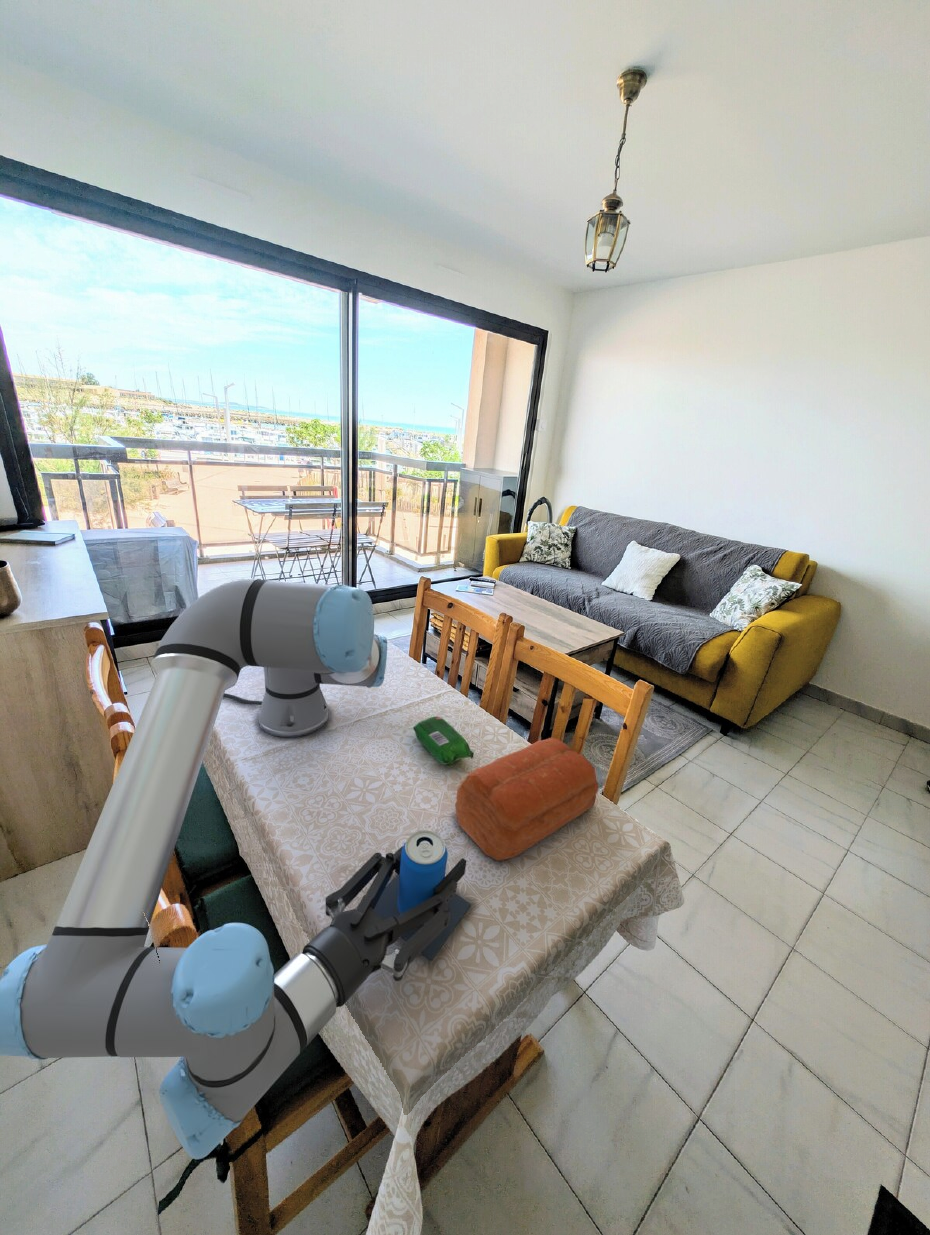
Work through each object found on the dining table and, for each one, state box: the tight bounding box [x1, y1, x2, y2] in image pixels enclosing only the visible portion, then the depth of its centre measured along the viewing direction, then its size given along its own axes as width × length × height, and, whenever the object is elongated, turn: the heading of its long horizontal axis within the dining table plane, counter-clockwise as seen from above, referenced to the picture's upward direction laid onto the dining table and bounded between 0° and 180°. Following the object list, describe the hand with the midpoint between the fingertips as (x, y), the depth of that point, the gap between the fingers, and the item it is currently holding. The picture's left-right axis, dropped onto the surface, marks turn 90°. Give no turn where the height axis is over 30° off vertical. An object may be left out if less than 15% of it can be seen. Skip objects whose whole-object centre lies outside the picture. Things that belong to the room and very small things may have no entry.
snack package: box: [412, 716, 475, 766], centre depth 103 cm, size 7×16×5 cm, turn 35°
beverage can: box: [398, 829, 449, 923], centre depth 67 cm, size 6×6×12 cm
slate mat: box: [374, 873, 472, 962], centre depth 70 cm, size 12×10×1 cm
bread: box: [454, 737, 599, 862], centre depth 88 cm, size 16×27×11 cm, turn 128°
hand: (444, 852), depth 71 cm, fingers closed on beverage can, 6 cm apart
